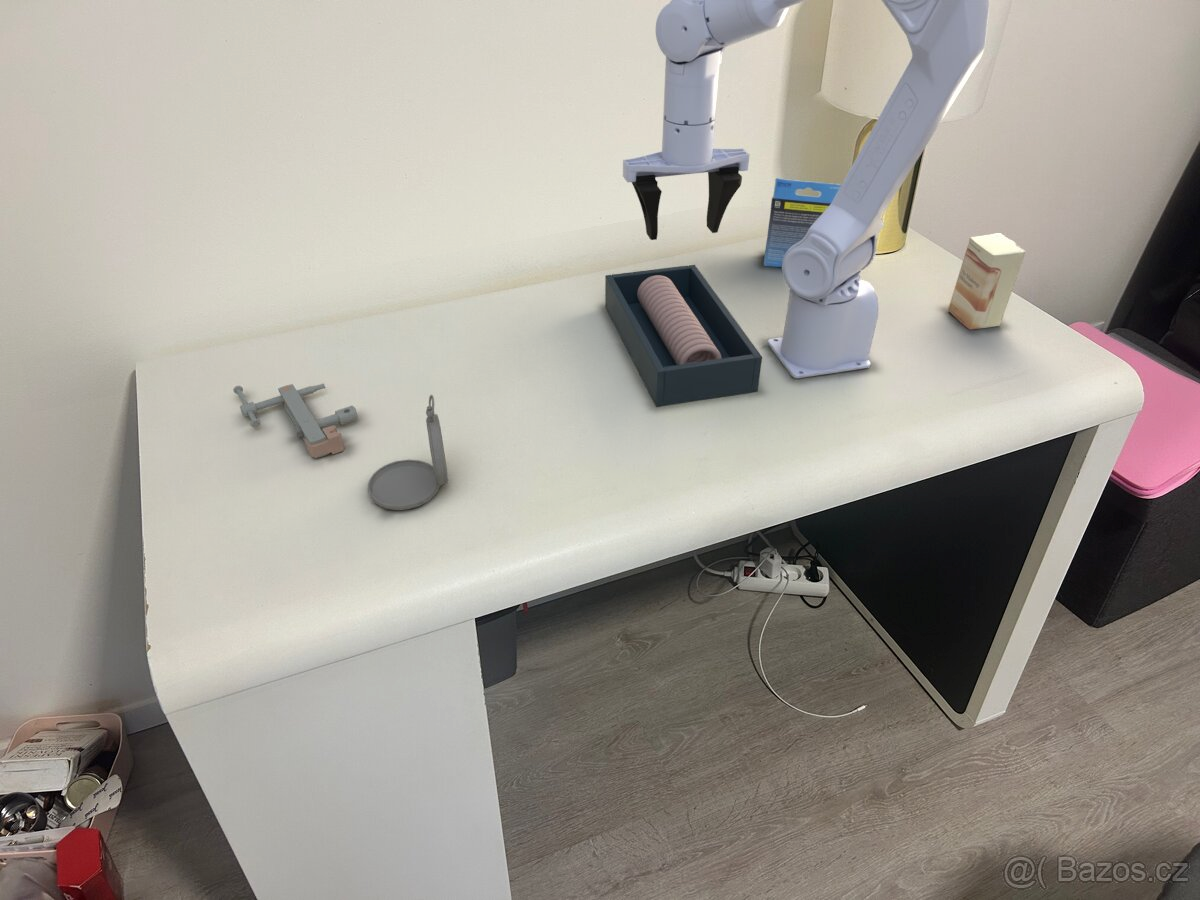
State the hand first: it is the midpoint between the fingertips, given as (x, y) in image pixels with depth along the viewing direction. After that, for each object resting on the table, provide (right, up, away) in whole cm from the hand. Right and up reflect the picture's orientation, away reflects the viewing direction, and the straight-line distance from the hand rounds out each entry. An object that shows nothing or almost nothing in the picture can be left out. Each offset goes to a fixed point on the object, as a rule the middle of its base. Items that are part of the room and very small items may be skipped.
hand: (682, 232), depth 102 cm
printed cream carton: (+36, -10, +3) cm, 38 cm away
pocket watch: (-27, -30, -22) cm, 46 cm away
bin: (-1, -14, -2) cm, 14 cm away
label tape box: (+17, -1, +14) cm, 22 cm away
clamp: (-41, -23, -13) cm, 49 cm away
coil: (-1, -14, -3) cm, 14 cm away
